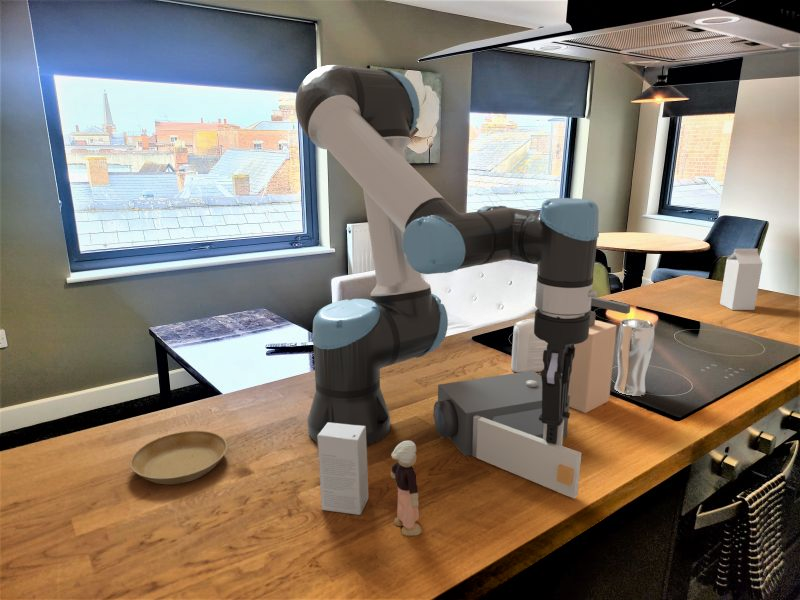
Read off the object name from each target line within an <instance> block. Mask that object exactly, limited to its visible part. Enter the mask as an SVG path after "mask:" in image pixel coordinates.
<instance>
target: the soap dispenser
mask: <svg viewBox="0 0 800 600" xmlns="http://www.w3.org/2000/svg"><path fill="white" fill-rule="evenodd" d="M591 307H597V308H600V309H604V310H608V311H609V310H610V311H613V312H617V313H621V314H626V315H627V314H630V313H631V304H627V303H623V302H618V301H614V300H610V299H606V298H600V297H597V296H596V297H591ZM588 314H589V315H590V325H589V336H588V338H587V340H585V341H584V342H582V343H579V344H574V347H575V357H574V359H573V362H572V372H571V374H570V382H569V391H568V395H570V402H569V408H571V409H574V410H576V411H579V412H581V413H584V414H586V413H589V412H590V411H592V410H594V409H597V408H598V407H600V406H602V405H604V404H605V403H608V402H609V400H610V395H611V385H612V384H611V383H612V374H613V363H614V355H615V354H614V353H615V348H616V346H615V345H616V336H617V325H616V324H612V323H609V322H604V321H602V320H596V312H595V311H592V308H591V309H590V311H588Z"/></svg>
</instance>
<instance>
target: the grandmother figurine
mask: <svg viewBox="0 0 800 600" xmlns="http://www.w3.org/2000/svg"><path fill="white" fill-rule="evenodd" d="M416 452H417V445H416V444H415V442H414V441H412V440H403V441H401V442H400V443H398V444H397V445H396V446H395V448H394V450H393V451H392V452H391V455H390V456H391V457H392V459H393V460H397V461H396V462H395V463H394V464H392V465H391V472H390V477H391V478H392V479H395V484H396V486H397V512H396V513H397V517H395V518H394V520H393V523H394V524H395V526H397V527H402V528H401V534H402V535H404V536H407V537H409V536H420V535H421V534H422V532H423V530H422V527H421V525H420V524H419V523H418V522H416V521H418V520H419V518H420V514H419V513H420V512H419V487H418V483H417V482H418V481H417V472H416V471H415V468H414V467H413V466H414V465H415V464H416V461H417V454H416Z"/></svg>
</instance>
